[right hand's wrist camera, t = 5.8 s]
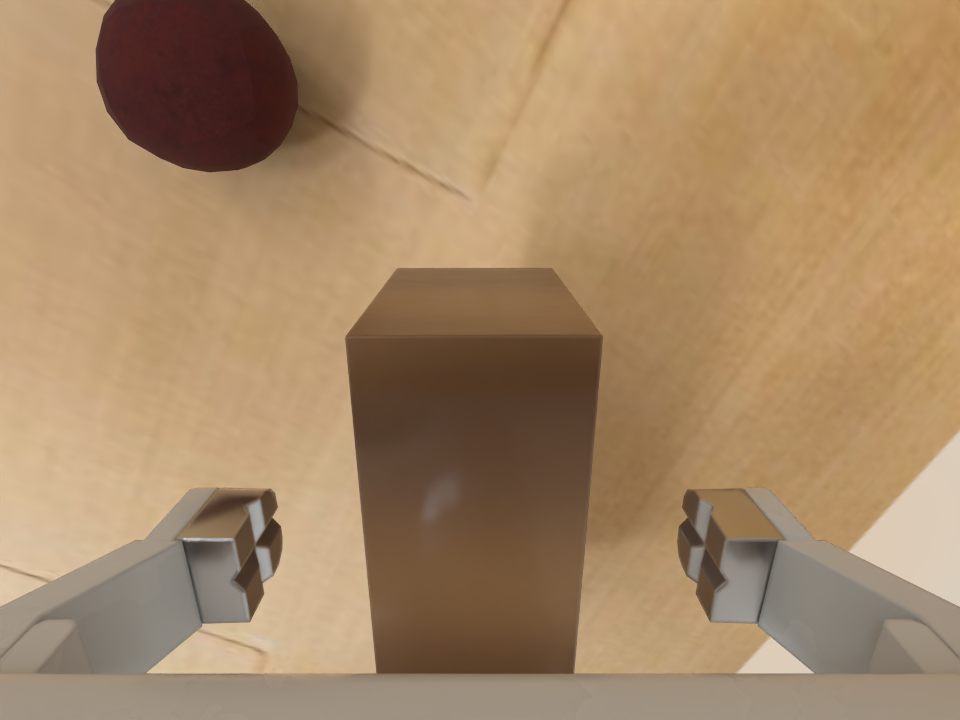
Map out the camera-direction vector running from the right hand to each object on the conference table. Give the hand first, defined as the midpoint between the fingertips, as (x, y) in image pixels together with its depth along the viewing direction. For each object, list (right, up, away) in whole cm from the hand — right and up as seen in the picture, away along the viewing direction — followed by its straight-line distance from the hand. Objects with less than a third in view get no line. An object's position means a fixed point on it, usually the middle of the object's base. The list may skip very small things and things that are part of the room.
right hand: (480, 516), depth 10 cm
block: (0, -4, +13) cm, 14 cm away
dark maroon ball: (-12, +16, +15) cm, 25 cm away
